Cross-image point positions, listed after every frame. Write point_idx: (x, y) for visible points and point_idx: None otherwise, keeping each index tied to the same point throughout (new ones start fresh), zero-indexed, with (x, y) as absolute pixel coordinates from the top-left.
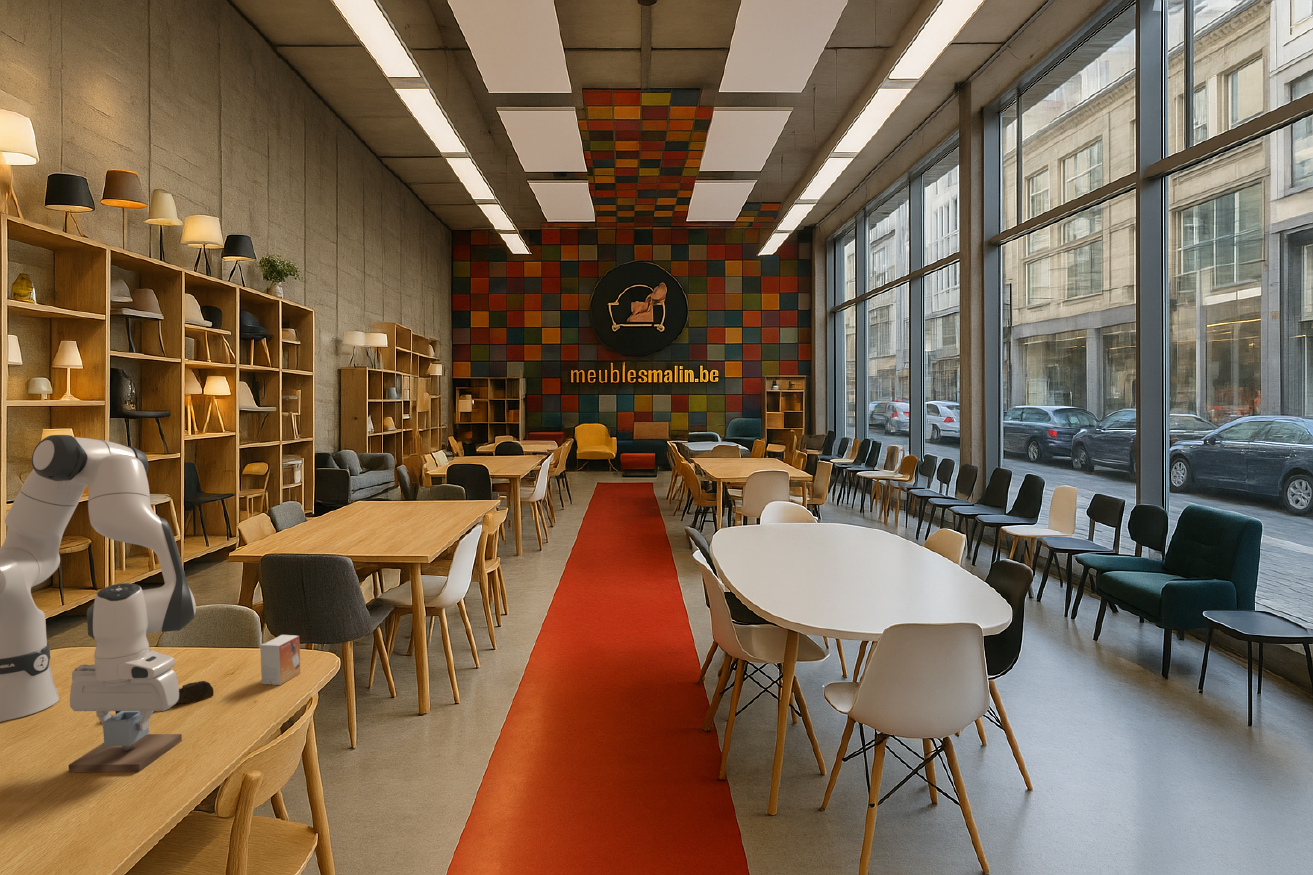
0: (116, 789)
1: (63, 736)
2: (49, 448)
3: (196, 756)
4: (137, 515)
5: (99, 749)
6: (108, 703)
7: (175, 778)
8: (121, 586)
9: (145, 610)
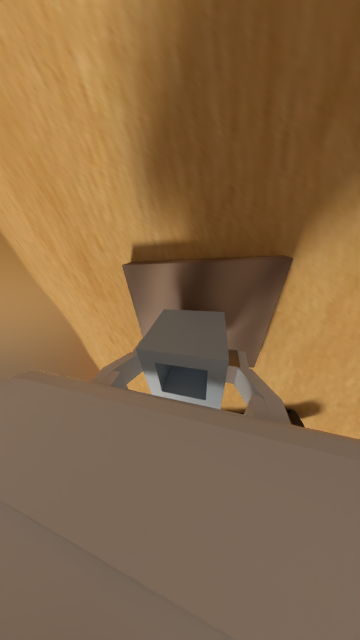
0: (107, 181)
1: None
2: None
3: (94, 306)
4: None
5: (252, 324)
6: (210, 460)
7: (53, 240)
8: None
9: None
